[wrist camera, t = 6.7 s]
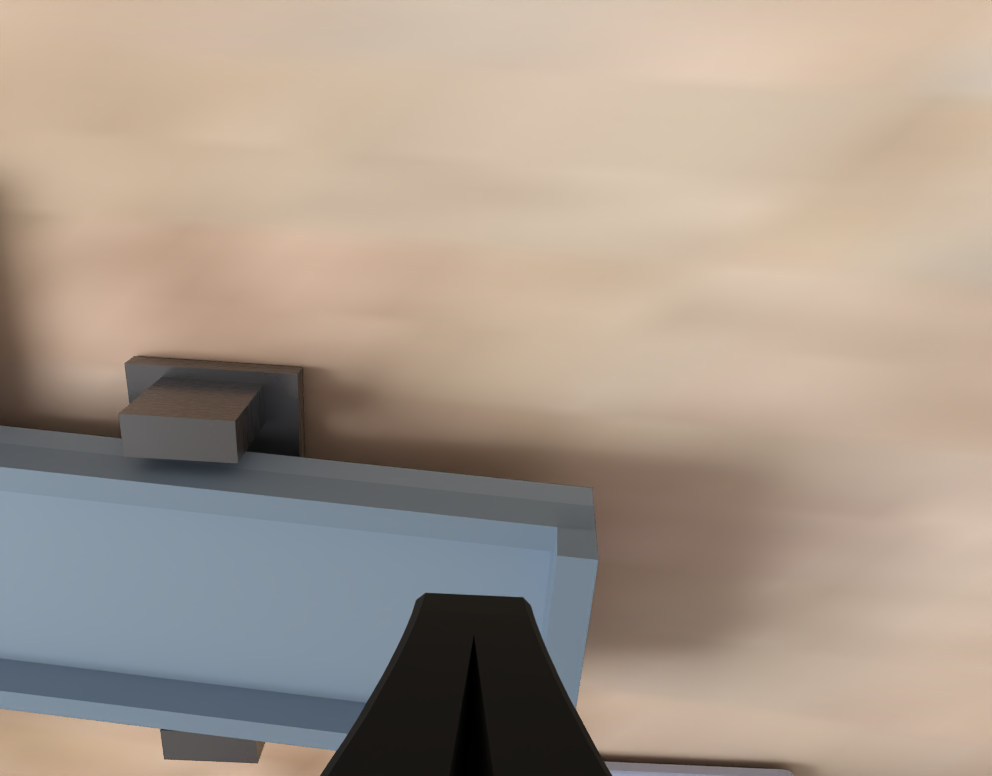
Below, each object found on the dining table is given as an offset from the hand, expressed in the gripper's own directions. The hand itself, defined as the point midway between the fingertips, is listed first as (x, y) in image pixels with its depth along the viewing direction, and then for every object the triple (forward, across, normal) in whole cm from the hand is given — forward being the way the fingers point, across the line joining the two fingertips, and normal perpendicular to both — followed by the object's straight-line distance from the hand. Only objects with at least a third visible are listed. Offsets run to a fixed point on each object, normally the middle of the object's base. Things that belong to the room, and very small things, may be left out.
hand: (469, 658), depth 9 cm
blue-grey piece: (+8, +6, +2) cm, 11 cm away
